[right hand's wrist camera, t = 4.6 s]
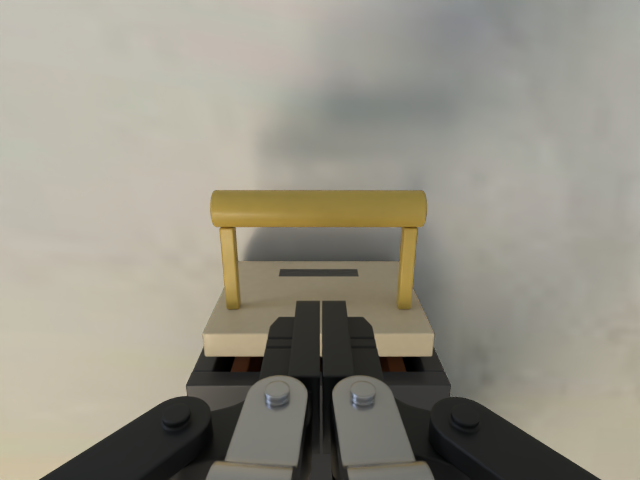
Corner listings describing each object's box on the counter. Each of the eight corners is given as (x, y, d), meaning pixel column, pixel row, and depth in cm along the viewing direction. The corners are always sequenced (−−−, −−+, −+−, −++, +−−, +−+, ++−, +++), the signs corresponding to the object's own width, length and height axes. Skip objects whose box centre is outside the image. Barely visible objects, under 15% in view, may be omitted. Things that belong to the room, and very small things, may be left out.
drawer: (229, 167, 23) (187, 204, 15) (407, 167, 23) (449, 204, 16) (250, 451, 30) (228, 569, 23) (386, 450, 30) (408, 568, 23)
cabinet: (231, 282, 26) (185, 385, 17) (405, 282, 26) (451, 385, 17) (247, 471, 32) (217, 625, 23) (390, 471, 32) (418, 625, 23)
